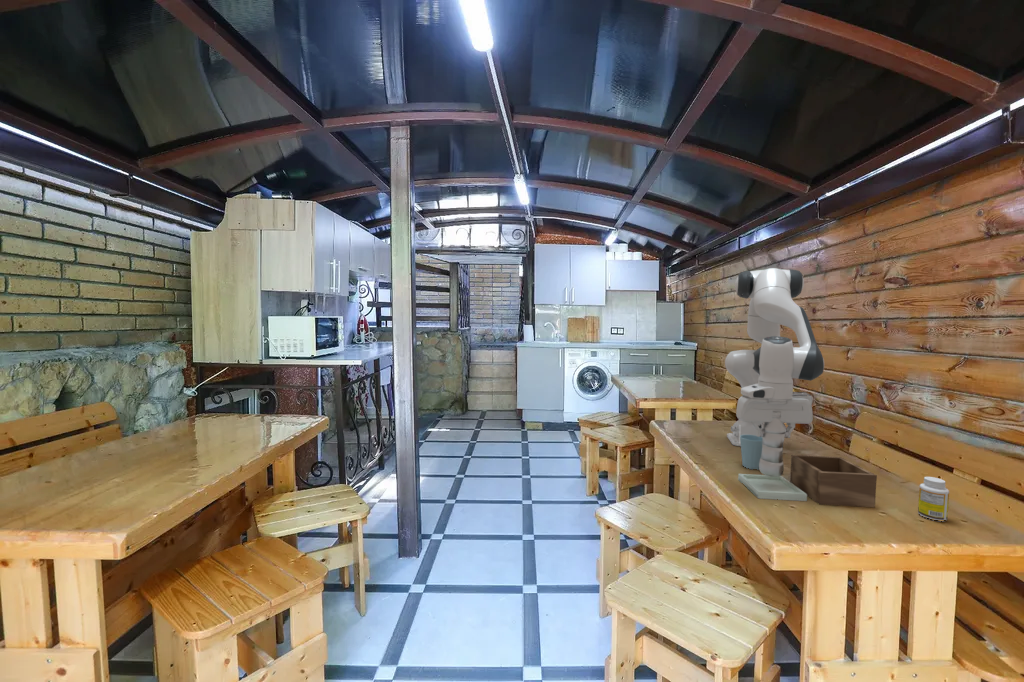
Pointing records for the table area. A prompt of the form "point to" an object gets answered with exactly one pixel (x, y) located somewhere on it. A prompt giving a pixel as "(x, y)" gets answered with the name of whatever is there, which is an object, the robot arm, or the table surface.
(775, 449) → the plastic bottle
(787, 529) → the table surface
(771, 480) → the tray
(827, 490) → the box
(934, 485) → the supplement bottle
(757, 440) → the cup
